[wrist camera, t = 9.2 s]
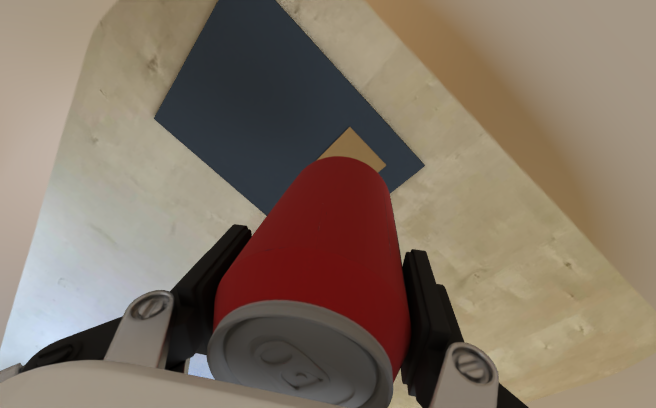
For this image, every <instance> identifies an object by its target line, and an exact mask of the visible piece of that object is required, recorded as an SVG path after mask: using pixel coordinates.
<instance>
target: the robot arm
mask: <svg viewBox="0 0 656 408" xmlns="http://www.w3.org/2000/svg"><path fill="white" fill-rule="evenodd" d="M251 237H252V234H251V230H249V229H248V227H247V226H243V225H236V224H234V225H233V226H232V227H231V228H230V229H229V230H228V231H227V232H226V233H225V234H224V235H223V236H222V237H221V238H220V239H219V241H218V242H217V243H216V244H215V245H214V246H213V247H212V248H211V249H210V250H209V251H208V252H207V253H206V254H205V255H204V256H203V257H202V258H201V259H200V260H199V261H198V262H197V263H196V264H195V265H194V266H193V267H192V269H191V270H190V271H189V272H188V273H187V274H186V275H185V276H184V277H183V278H182V279H181V280H180V281H179V282H178V283H177V284H176V286H175V287H174V288H173V289H172V290H171V291H170V292H169V291H165V290H156V291H152V292H148V293H146V294H144V295H141V296H140V297H138V298H137V299H135V300H134V301H133V302H132V303H131V304H130V305H129V306H128V308H127V309H126V311H125V313H124V315H123V317H120V318H117V319H114V320H112V321H109V322H106V323H104V324H101V325H98V326H96V327H93V328H90V329H88V330H85V331H82V332H80V333H77V334H74V335H72V336H69V337H66V338H63V339H61V340H58V341H56V342H54V343H52V344H50V345H48V346H46V347H45V348H43V349H42V350H40V351H39V352H38V353H36V354H35V355H34V356H33V357H32V358H31V359H30V360H29V361H28V362H27V363H26V365H24V366H22V365H21V363H18V364H16V365H14V366H11V367H9V368H6V369H4V370H2V371H0V408H347V407H343V406H338V405H333V404H329V403H324V402H319V401H314V400H310V399H305V398H300V397H295V396H291V395H286V394H281V393H276V392H271V391H267V390H262V389H257V388H252V387H247V386H243V385H238V384H233V383H228V382H223V381H218V380H213V379H208V378H203V377H198V376H193V375H188V369H189V363H190V358H191V357H192V356H194V354H195V353H198V354H203V355H207V346H208V343H209V340H210V338H211V336H212V335H213V320H214V301H215V295H216V291H217V288H218V285H219V283H220V281H221V279H222V278H223V276H224V275H225V273H226V272H227V270H228V269H229V268H230V266H231V265H232V263H233V262H234V261H235V259H236V258H237V257H238V255H239V254H240V252H241V251H242V250H243V248H244V247H245V245H246V244H247V243H248V241H249V240H250V239H251ZM402 268H403V274H404V280H405V287H406V294H407V300H408V307H409V314H410V321H411V329H412V335H411V343H410V346H409V350H408V353H407V355H406V357H405V359H404V361H403V364H402V366H401V376H402V382H403V384H407V386H408V395H410V396H415V397H416V400H417V402H418V403H419V404H420V405H421V406H422V408H528V407H527V406H526V405H525V404H524V403H523V402H521V401H520V400H519V399H518V398H517V397H515V396H514V395H513V394H512V393H511V392H509V391H508V390H507V389H506V388H505V387H503V386H502V385H501V384H500V383H499V376H498V371H497V368H496V366H495V364H494V363H493V361H492V360H491V359H490V357H489V356H487V355H486V354H485V353H484V352H483V351H482V350H480V349H479V348H477V347H476V346H474V345H471V344H469V343H464V340H463V337H462V334H461V331H460V328H459V326H458V323H457V320H456V317H455V314H454V311H453V308H452V306H451V303H450V300H449V297H448V294H447V291H446V289H445V287H444V286H443V285H441V284H436V282H435V279H434V275H433V272H432V269H431V266H430V263H429V259H428V256H427V253H426V251H422V250H414V249H412V250H411V252H406V255H405V259H404V263H403V267H402Z"/></svg>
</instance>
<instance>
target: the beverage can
mask: <svg viewBox="0 0 656 408" xmlns="http://www.w3.org/2000/svg"><path fill="white" fill-rule="evenodd" d="M411 335H412V329H411V321H410V314H409V307H408V300H407V294H406V287H405V280H404V274H403V268H402V261H401V255H400V249H399V243H398V237H397V231H396V225H395V220H394V214H393V209H392V204H391V199H390V194H389V190H388V188H387V185H386V183H385V182H384V180H383V179H382V177H381V176H380V175H379V174H378V173H377V172H376V171H375V170H374V169H373V168H372V167H370V166H369V165H367V164H366V163H364V162H362V161H360V160H357V159H354V158H350V157H344V156H332V157H326V158H322V159H319V160H317V161H315V162H313V163H311V164H310V165H308V166H307V167H306V168H305V169H303V170H302V171H301V173H300V174H299V175H298V176H297V178H296V179H295V180H294V181H293V183H292V184H291V185H290V186H289V188H288V189H287V190H286V192H285V193H284V194H283V196H282V197H281V198H280V200H279V201H278V202H277V203H276V205H275V206H274V207H273V209H272V210H271V211H270V213H269V214H268V215H267V217H266V218H265V220H264V221H263V222H262V224H261V225H260V226H259V228H258V229H257V230H256V232H255V233H254V234H253V236H252V237H251V239H250V240H249V241H248V243H247V244H246V245H245V247H244V248H243V250H242V251H241V252H240V254H239V255H238V257H237V258H236V259H235V261H234V262H233V263H232V265H231V266H230V268H229V269H228V270H227V272H226V273H225V275H224V276H223V278H222V279H221V281H220V283H219V285H218V288H217V291H216V295H215V301H214V320H213V335H212V336H211V338H210V340H209V343H208V346H207V362H208V365H209V368H210V371H211V373H212V375H213V377H214V378H215V380H218V381H223V382H228V383H233V384H238V385H243V386H247V387H252V388H257V389H262V390H267V391H271V392H276V393H281V394H286V395H291V396H295V397H300V398H305V399H310V400H314V401H319V402H324V403H329V404H333V405H338V406H343V407H347V408H387V407H388V406H389V404H390V402H391V399H392V396H393V383H394V380H395V378H396V376H397V374H398V372H399V370H400V368H401V366H402V364H403V361H404V359H405V357H406V355H407V353H408V350H409V346H410V343H411Z"/></svg>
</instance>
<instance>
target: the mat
mask: <svg viewBox="0 0 656 408" xmlns="http://www.w3.org/2000/svg"><path fill="white" fill-rule="evenodd" d="M154 119H155V120H156V121H157V122H158V123H159V124H161V125H162V126H163V127H164V128H165V129H166V130H168V131H169V132H170V133H171V134H172V135H173V136H174V137H176V138H177V139H178V140H179V141H180V142H181V143H183V144H184V145H185V146H186V147H187V148H188V149H190V150H191V151H192V152H193V153H194V154H195V155H197V156H198V157H199V158H200V159H201V160H202V161H204V162H205V163H206V164H207V165H208V166H209V167H211V168H212V169H213V170H214V171H215V172H216V173H218V174H219V175H220V176H221V177H222V178H223V179H224V180H226V181H227V182H228V183H229V184H230V185H231V186H233V187H234V188H235V189H236V190H237V191H238V192H240V193H241V194H242V195H243V196H244V197H245V198H247V199H248V200H249V201H250V202H251V203H252V204H254V205H255V206H256V207H257V208H258V209H259V210H261V211H262V212H263V213H264V214H265V215H266V216H267V215H268V214H269V213H270V211H271V210H272V209H273V207H274V206H275V205H276V203H277V202H278V201H279V200H280V198H281V197H282V196H283V194H284V193H285V192H286V190H287V189H288V188H289V186H290V185H291V184H292V183H293V181H294V180H295V179H296V178H297V176H298V175H299V174H300V173H301V171H302V170H303V169H305V168H306V167H307V166H308V165H310V164H311V163H313V162H315V161H317V160H319V159H322V158H326V157H332V156H344V157H350V158H354V159H357V160H360V161H362V162H364V163H366V164H367V165H369V166H370V167H372V168H373V169H374V170H375V171H376V172H377V173H378V174H379V175H380V176H381V177H382V179H383V180H384V182H385V183H386V185H387V188H388V190H389V194H390V193H391V192H392V191H394V190H395V189H396V188H398V187H399V186H400V185H401V184H403V183H404V182H405V181H406V180H408V179H409V178H410V177H411V176H413V175H414V174H415V173H417V172H418V171H419V170H420V169H422V168H423V167H424V166H425V165H424V164H423V163H422V162H421V160H420V159H419V158H418V157H417V156H416V155H415V154H414V153H413V152H412V151H411V149H410V148H409V147H408V146H407V145H406V144H405V143H404V142H403V141H402V140H401V138H400V137H399V136H398V135H397V134H396V133H395V132H394V131H393V130H392V128H391V127H390V126H389V125H388V124H387V123H386V122H385V121H384V120H383V119H382V117H381V116H380V115H379V114H378V113H377V112H376V111H375V110H374V109H373V108H372V106H371V105H370V104H369V103H368V102H367V101H366V100H365V99H364V98H363V97H362V95H361V94H360V93H359V92H358V91H357V90H356V89H355V88H354V87H353V85H352V84H351V83H350V82H349V81H348V80H347V79H346V78H345V77H344V76H343V74H342V73H341V72H340V71H339V70H338V69H337V68H336V67H335V66H334V65H333V63H332V62H331V61H330V60H329V59H328V58H327V57H326V56H325V55H324V54H323V52H322V51H321V50H320V49H319V48H318V47H317V46H316V45H315V44H314V42H313V41H312V40H311V39H310V38H309V37H308V36H307V35H306V34H305V33H304V31H303V30H302V29H301V28H300V27H299V26H298V25H297V24H296V23H295V22H294V20H293V19H292V18H291V17H290V16H289V15H288V14H287V13H286V12H285V11H284V9H283V8H282V7H281V6H280V5H279V4H278V3H277V2H276V1H275V0H218V2H217V4H216V6H215V8H214V9H213V11H212V13H211V15H210V17H209V19H208V20H207V22H206V24H205V26H204V28H203V30H202V31H201V33H200V35H199V37H198V39H197V41H196V42H195V44H194V46H193V48H192V50H191V51H190V53H189V55H188V57H187V59H186V61H185V62H184V64H183V66H182V68H181V70H180V72H179V73H178V75H177V77H176V79H175V81H174V83H173V84H172V86H171V88H170V90H169V92H168V94H167V95H166V97H165V99H164V101H163V103H162V105H161V106H160V108H159V110H158V112H157V114H156V115H155V117H154Z"/></svg>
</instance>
